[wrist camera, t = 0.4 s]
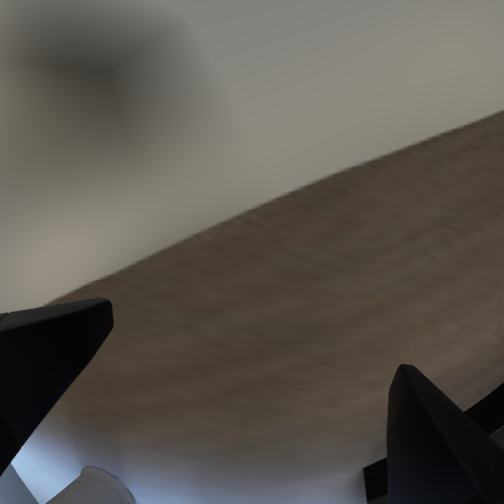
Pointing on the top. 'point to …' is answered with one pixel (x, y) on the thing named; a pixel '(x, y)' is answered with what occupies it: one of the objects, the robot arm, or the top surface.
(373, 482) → the black square tray
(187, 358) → the top surface
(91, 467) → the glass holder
